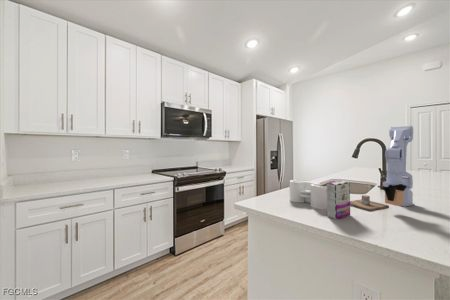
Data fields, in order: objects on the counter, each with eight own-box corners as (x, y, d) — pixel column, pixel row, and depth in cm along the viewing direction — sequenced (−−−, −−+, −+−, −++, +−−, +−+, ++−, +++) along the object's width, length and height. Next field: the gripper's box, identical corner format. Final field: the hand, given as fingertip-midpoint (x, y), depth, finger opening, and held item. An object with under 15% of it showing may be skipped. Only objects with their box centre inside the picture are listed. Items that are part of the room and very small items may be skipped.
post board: (363, 200, 122) (363, 191, 122) (388, 207, 109) (388, 197, 109) (344, 203, 117) (343, 194, 117) (368, 211, 104) (368, 200, 103)
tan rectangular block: (391, 201, 103) (391, 188, 103) (403, 204, 98) (403, 191, 98) (385, 203, 101) (385, 189, 101) (397, 205, 96) (397, 192, 96)
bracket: (285, 200, 127) (285, 181, 126) (295, 197, 132) (295, 179, 132) (324, 210, 106) (324, 187, 105) (334, 207, 111) (334, 185, 111)
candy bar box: (340, 212, 102) (340, 180, 102) (350, 215, 98) (350, 181, 97) (326, 216, 97) (326, 182, 97) (336, 219, 93) (336, 184, 92)
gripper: (394, 174, 93) (394, 203, 93) (413, 172, 98) (413, 200, 99) (378, 172, 100) (377, 200, 100) (396, 170, 105) (396, 196, 105)
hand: (394, 199), depth 100 cm, fingers closed on tan rectangular block, 5 cm apart
